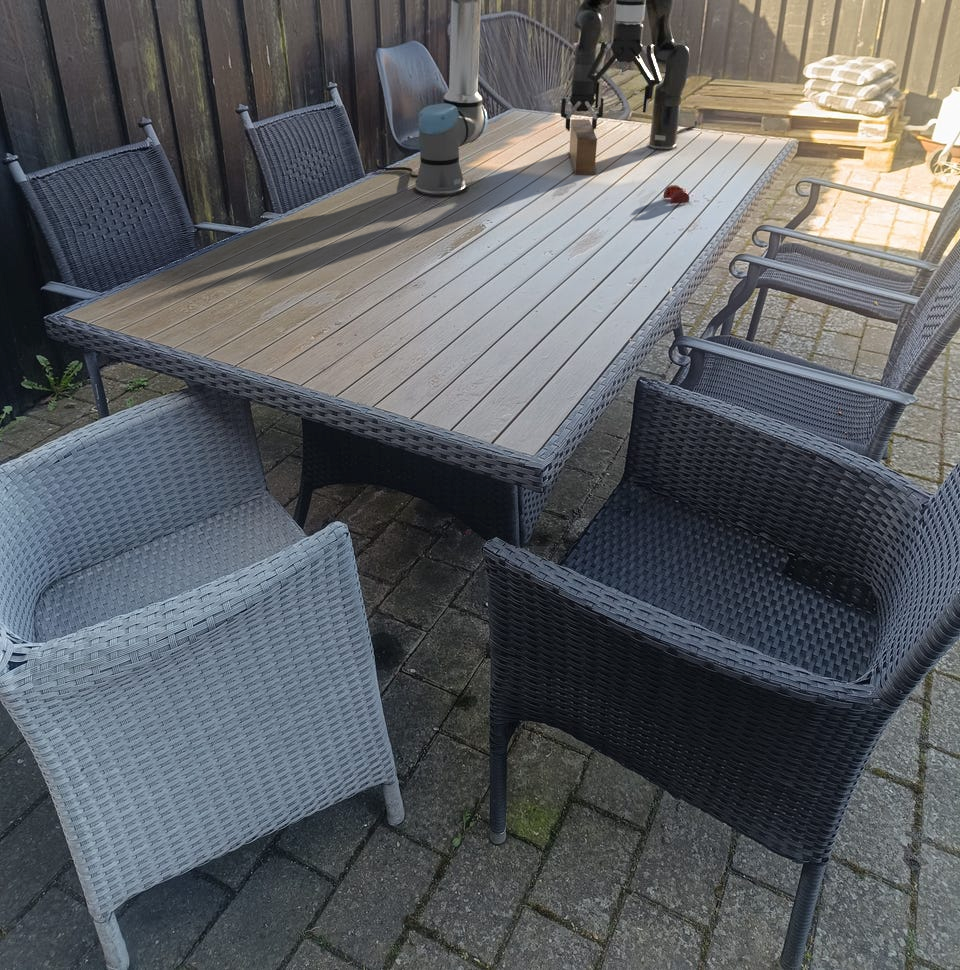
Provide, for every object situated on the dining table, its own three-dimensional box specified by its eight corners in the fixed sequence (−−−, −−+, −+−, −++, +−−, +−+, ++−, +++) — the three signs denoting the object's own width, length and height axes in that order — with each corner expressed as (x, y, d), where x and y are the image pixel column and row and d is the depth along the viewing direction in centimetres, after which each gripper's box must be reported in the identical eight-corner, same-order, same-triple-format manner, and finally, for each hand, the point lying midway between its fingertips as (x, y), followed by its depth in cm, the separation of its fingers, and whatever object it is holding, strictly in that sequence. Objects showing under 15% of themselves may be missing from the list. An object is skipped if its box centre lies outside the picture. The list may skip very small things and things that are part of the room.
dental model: (680, 181, 250) (692, 189, 244) (678, 195, 253) (690, 203, 247) (662, 183, 249) (674, 191, 243) (661, 197, 252) (672, 206, 246)
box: (594, 174, 272) (597, 139, 266) (575, 174, 272) (577, 139, 266) (586, 152, 294) (589, 119, 288) (569, 152, 294) (571, 119, 288)
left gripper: (679, 23, 219) (668, 110, 232) (588, 18, 227) (582, 102, 240) (672, 27, 214) (662, 116, 226) (579, 21, 222) (574, 108, 234)
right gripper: (604, 75, 279) (600, 128, 289) (561, 75, 279) (558, 127, 289) (606, 80, 273) (602, 133, 282) (562, 80, 273) (560, 133, 283)
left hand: (621, 109), depth 233 cm, fingers open, 13 cm apart
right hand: (580, 130), depth 286 cm, fingers open, 8 cm apart
